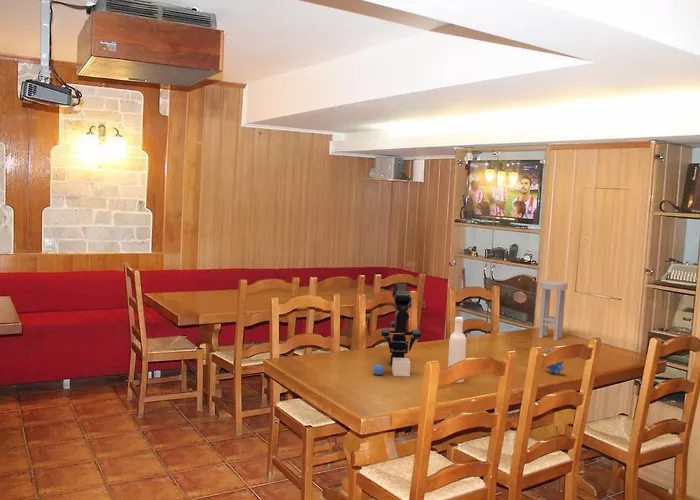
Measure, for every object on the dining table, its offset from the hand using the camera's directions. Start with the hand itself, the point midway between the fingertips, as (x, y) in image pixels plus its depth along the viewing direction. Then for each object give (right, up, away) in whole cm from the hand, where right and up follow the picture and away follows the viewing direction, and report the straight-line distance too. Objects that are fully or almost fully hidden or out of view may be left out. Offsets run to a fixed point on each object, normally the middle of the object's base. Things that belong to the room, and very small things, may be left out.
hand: (399, 350), depth 320 cm
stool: (+101, -7, +98) cm, 141 cm away
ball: (-10, -9, -3) cm, 14 cm away
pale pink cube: (0, -11, +1) cm, 11 cm away
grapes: (+76, -14, +13) cm, 78 cm away
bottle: (+26, -13, -7) cm, 29 cm away
